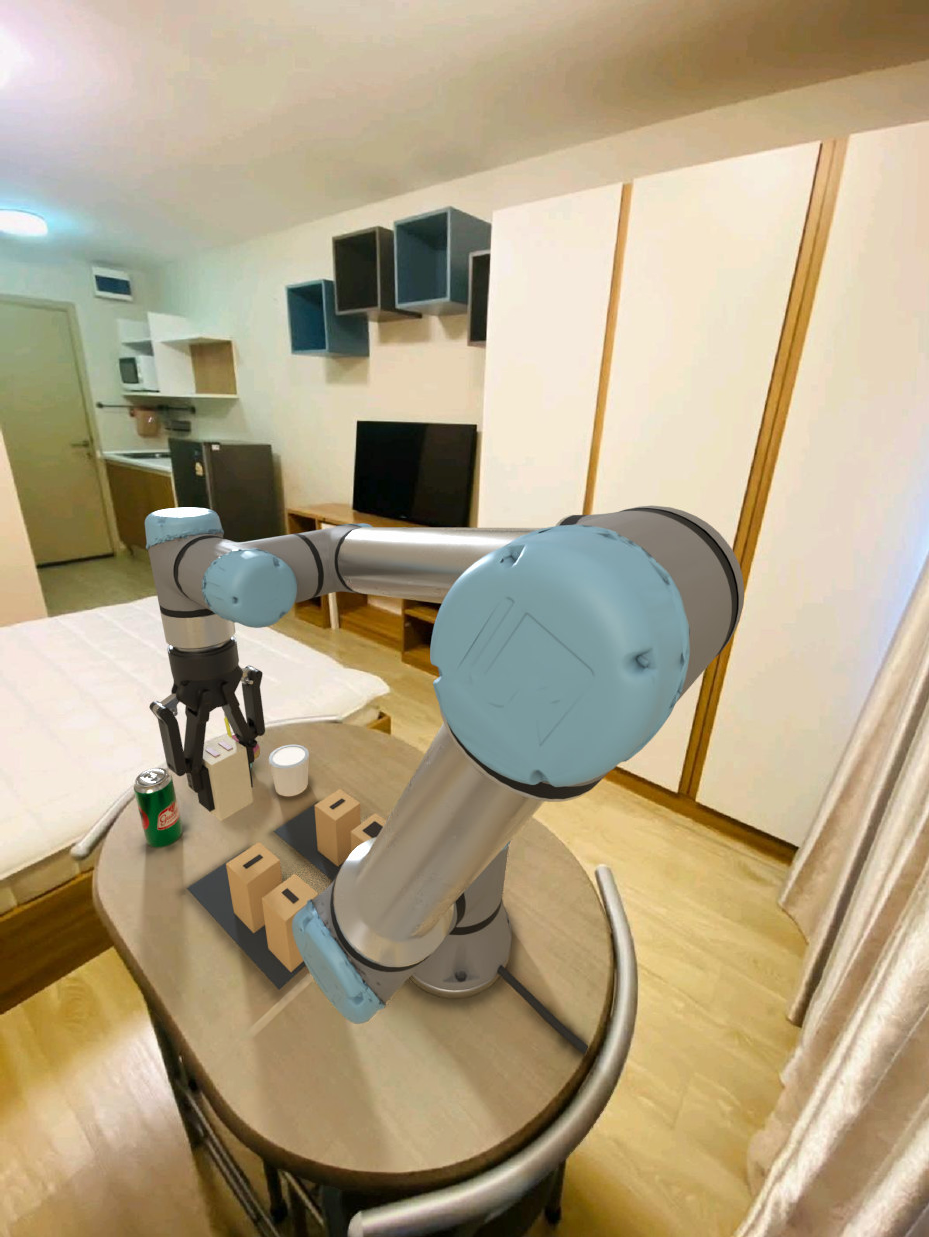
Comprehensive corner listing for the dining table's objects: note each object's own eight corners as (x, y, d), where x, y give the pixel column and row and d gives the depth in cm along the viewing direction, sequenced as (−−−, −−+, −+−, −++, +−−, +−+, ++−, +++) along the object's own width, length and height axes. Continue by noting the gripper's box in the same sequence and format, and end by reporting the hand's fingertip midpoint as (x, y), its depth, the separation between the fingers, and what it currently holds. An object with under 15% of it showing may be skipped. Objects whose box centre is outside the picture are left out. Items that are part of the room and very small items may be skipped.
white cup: (290, 805, 90) (286, 773, 88) (263, 790, 94) (259, 758, 91) (319, 783, 96) (317, 752, 93) (293, 769, 99) (290, 739, 96)
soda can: (167, 853, 80) (154, 790, 75) (139, 846, 81) (123, 784, 76) (190, 829, 84) (178, 769, 80) (162, 823, 85) (149, 763, 81)
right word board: (410, 870, 79) (411, 821, 76) (366, 910, 73) (365, 860, 69) (318, 803, 91) (315, 759, 88) (273, 833, 85) (268, 786, 81)
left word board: (338, 937, 69) (335, 884, 65) (279, 991, 62) (272, 937, 58) (245, 851, 81) (238, 803, 77) (187, 889, 74) (176, 839, 70)
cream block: (253, 801, 72) (246, 747, 69) (220, 821, 68) (211, 764, 65) (234, 787, 75) (226, 733, 71) (201, 805, 71) (191, 749, 68)
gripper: (250, 612, 71) (267, 753, 80) (105, 655, 58) (144, 819, 66) (284, 626, 67) (298, 773, 76) (136, 676, 54) (174, 847, 62)
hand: (226, 794), depth 71 cm, fingers closed on cream block, 5 cm apart
